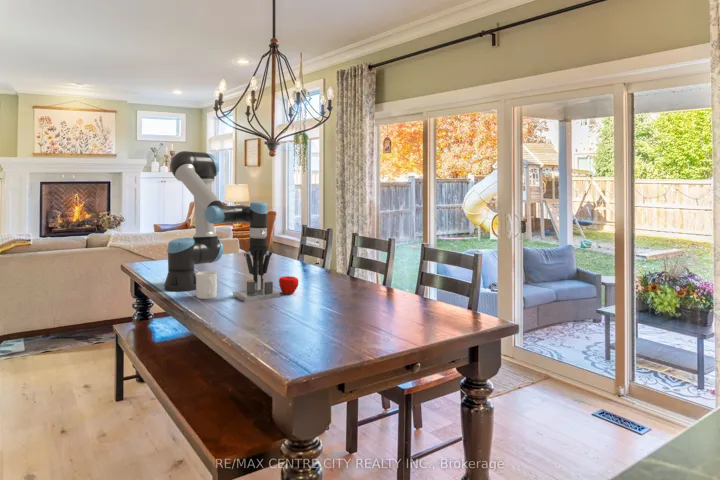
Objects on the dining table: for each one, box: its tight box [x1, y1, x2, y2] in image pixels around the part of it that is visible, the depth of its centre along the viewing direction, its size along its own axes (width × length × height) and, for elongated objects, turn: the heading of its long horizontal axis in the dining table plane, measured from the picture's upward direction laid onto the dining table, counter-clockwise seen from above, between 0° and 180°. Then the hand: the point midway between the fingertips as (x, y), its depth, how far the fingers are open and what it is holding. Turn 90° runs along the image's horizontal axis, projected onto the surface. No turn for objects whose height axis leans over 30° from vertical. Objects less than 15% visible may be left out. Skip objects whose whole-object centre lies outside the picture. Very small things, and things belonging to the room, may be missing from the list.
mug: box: [195, 271, 218, 300], centre depth 213 cm, size 9×12×11 cm
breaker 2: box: [263, 280, 274, 294], centre depth 216 cm, size 2×3×5 cm, turn 129°
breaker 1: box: [261, 277, 264, 290], centre depth 223 cm, size 2×3×5 cm, turn 129°
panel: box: [232, 287, 281, 303], centre depth 218 cm, size 12×17×2 cm
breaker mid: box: [246, 279, 255, 293], centre depth 216 cm, size 2×3×5 cm, turn 129°
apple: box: [278, 275, 299, 295], centre depth 226 cm, size 9×9×8 cm
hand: (257, 289), depth 218 cm, fingers closed
